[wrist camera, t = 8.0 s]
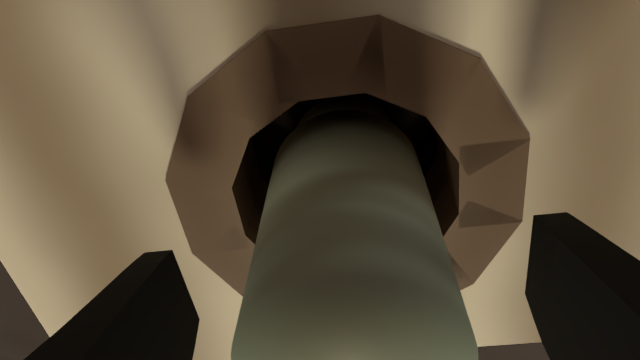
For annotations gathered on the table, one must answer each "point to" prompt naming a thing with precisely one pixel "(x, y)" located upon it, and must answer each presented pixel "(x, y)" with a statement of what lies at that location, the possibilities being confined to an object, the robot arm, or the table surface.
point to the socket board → (278, 96)
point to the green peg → (350, 250)
